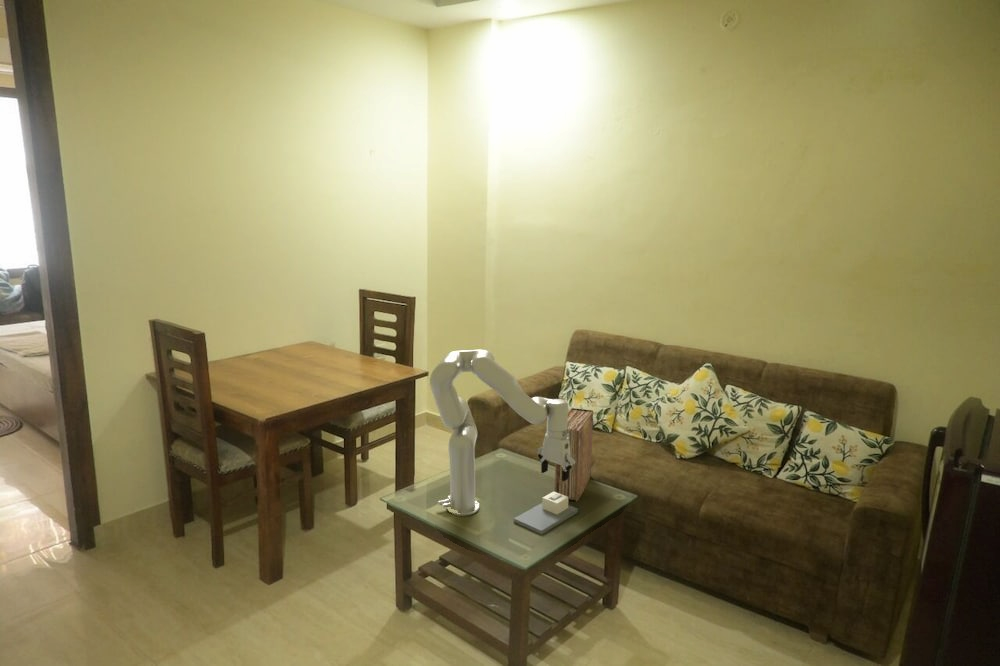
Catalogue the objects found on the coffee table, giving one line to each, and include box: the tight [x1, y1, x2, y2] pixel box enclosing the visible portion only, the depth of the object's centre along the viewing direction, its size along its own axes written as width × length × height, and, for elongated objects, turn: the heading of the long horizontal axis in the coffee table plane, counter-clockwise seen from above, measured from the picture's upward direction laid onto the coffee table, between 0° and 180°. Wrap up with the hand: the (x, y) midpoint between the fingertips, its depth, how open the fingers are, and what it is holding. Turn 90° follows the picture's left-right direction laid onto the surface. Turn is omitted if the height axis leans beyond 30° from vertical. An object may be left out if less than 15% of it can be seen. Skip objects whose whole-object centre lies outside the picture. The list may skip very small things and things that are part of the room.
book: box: [554, 407, 594, 503], centre depth 251 cm, size 25×9×30 cm, turn 159°
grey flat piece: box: [513, 494, 579, 536], centre depth 229 cm, size 22×13×6 cm, turn 138°
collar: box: [541, 490, 569, 514], centre depth 233 cm, size 7×7×4 cm
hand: (554, 475), depth 231 cm, fingers open, 9 cm apart
